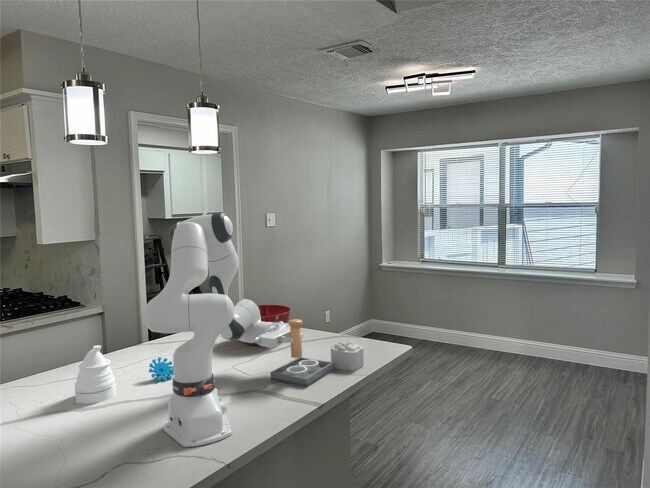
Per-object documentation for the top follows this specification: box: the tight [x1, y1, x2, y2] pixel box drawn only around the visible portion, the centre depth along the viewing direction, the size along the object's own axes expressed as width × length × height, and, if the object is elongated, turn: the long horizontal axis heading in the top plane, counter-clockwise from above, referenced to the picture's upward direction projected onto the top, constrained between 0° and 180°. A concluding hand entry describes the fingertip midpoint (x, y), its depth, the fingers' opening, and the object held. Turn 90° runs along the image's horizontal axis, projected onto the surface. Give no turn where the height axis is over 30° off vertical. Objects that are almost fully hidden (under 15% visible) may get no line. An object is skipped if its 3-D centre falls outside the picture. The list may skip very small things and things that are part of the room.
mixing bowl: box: [248, 304, 292, 346], centre depth 230 cm, size 28×28×16 cm
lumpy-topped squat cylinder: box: [330, 341, 365, 371], centre depth 193 cm, size 10×13×9 cm
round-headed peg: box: [288, 318, 303, 359], centre depth 179 cm, size 5×5×13 cm
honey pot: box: [74, 344, 117, 405], centre depth 167 cm, size 13×13×18 cm
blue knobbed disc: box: [148, 356, 174, 382], centre depth 184 cm, size 11×6×10 cm
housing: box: [269, 356, 335, 388], centre depth 183 cm, size 16×20×4 cm
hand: (298, 338), depth 178 cm, fingers closed on round-headed peg, 4 cm apart
